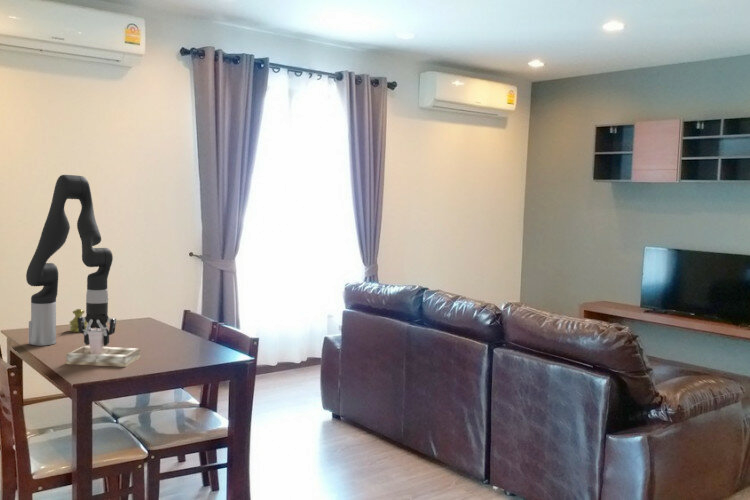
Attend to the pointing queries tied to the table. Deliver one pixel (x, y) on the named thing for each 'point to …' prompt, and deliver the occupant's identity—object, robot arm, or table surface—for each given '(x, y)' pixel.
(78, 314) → the olive green stacked toy
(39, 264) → the robot arm
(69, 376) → the table surface
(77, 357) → the cream rectangular tray
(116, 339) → the table surface
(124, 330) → the table surface
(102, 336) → the smoothie
